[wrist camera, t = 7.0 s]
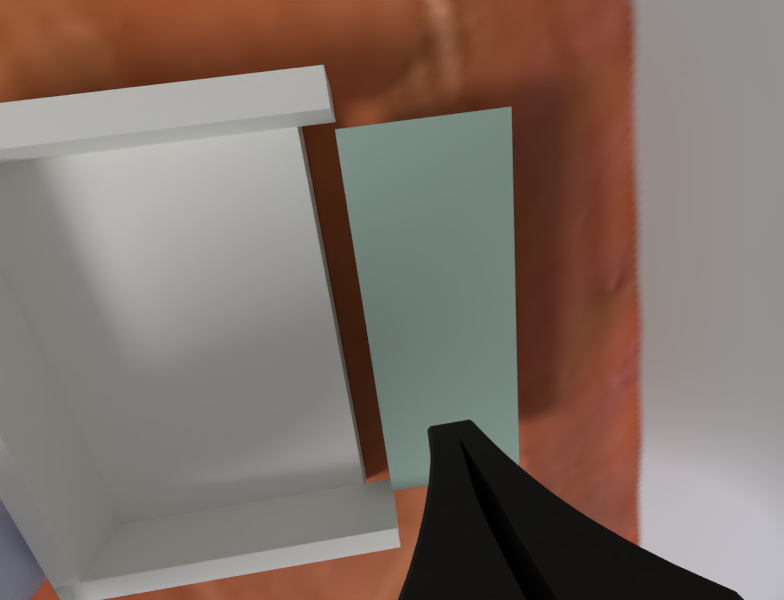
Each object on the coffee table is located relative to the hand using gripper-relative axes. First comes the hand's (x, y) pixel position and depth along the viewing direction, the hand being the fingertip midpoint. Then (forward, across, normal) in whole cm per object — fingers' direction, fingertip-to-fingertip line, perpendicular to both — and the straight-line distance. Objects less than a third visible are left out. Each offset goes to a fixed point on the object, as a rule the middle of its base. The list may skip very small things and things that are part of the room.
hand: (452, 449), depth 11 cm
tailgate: (+7, +2, -2) cm, 7 cm away
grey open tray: (+8, +11, -2) cm, 14 cm away
